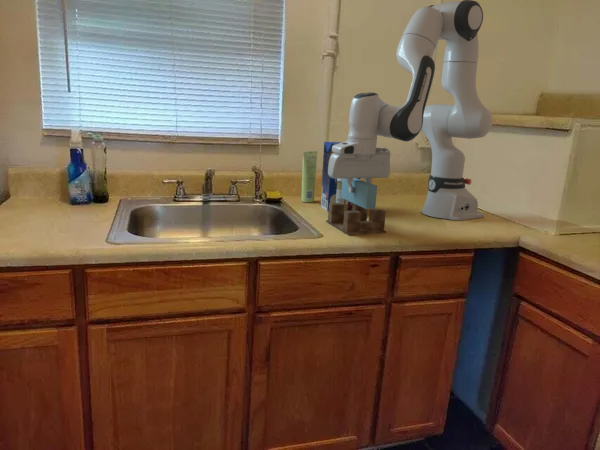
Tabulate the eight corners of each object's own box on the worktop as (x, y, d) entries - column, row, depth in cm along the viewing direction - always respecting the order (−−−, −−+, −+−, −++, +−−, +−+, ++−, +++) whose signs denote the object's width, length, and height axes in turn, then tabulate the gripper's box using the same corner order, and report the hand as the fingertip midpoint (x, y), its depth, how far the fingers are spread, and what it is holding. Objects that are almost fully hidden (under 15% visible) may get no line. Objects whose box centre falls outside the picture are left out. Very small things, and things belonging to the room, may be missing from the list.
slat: (348, 197, 159) (350, 176, 157) (375, 208, 143) (377, 185, 142) (340, 197, 158) (342, 176, 156) (366, 209, 142) (368, 185, 141)
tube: (301, 199, 190) (304, 149, 184) (314, 200, 189) (317, 150, 184) (300, 202, 184) (302, 151, 179) (313, 203, 184) (316, 152, 179)
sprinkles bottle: (350, 213, 171) (353, 175, 167) (340, 214, 168) (342, 176, 165) (342, 210, 174) (344, 173, 171) (332, 211, 172) (334, 174, 168)
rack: (361, 219, 162) (362, 200, 161) (386, 232, 148) (388, 212, 146) (326, 221, 157) (327, 202, 156) (348, 235, 143) (350, 214, 141)
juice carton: (327, 211, 172) (331, 143, 166) (320, 206, 179) (324, 141, 173) (357, 210, 176) (363, 144, 170) (349, 205, 183) (354, 142, 176)
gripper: (385, 146, 153) (381, 189, 156) (327, 146, 145) (324, 191, 149) (396, 149, 147) (391, 193, 151) (336, 148, 140) (333, 195, 143)
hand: (357, 192), depth 150 cm, fingers closed on slat, 3 cm apart
